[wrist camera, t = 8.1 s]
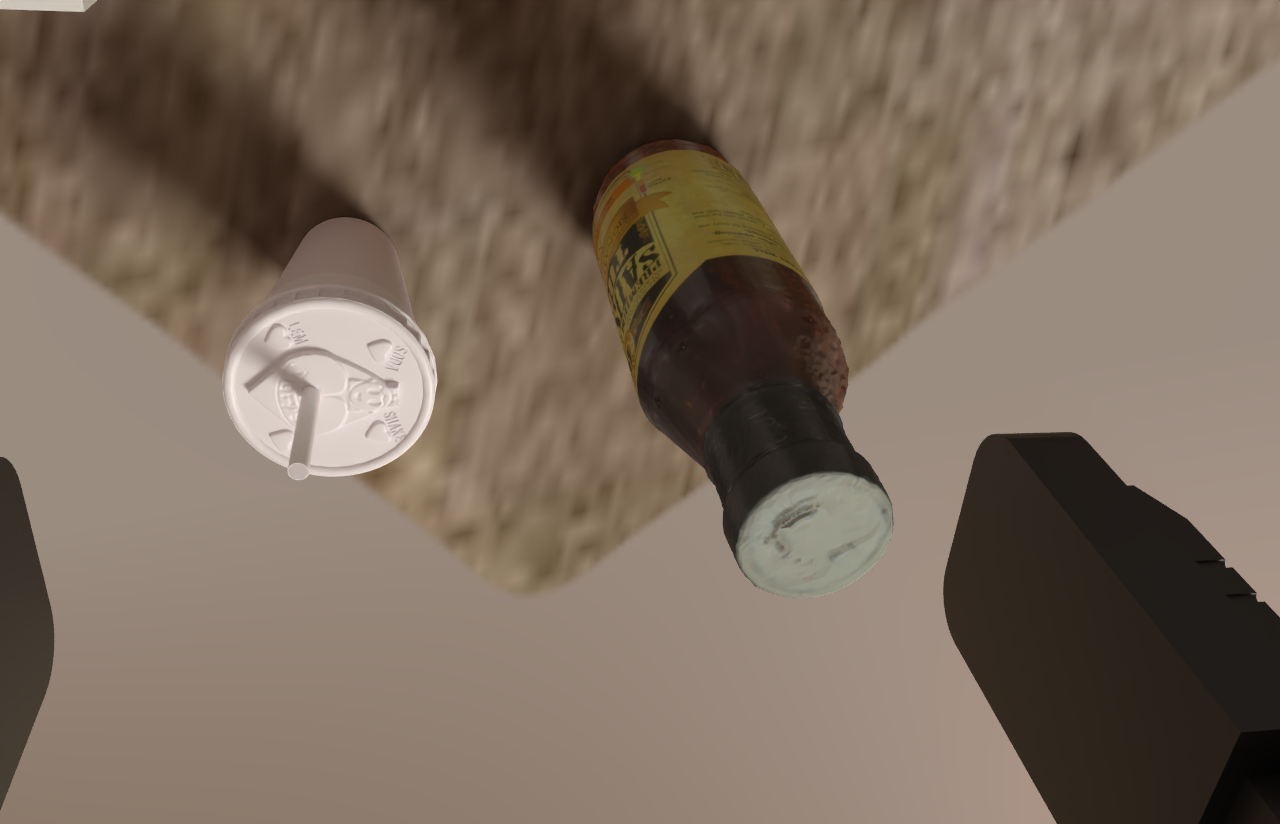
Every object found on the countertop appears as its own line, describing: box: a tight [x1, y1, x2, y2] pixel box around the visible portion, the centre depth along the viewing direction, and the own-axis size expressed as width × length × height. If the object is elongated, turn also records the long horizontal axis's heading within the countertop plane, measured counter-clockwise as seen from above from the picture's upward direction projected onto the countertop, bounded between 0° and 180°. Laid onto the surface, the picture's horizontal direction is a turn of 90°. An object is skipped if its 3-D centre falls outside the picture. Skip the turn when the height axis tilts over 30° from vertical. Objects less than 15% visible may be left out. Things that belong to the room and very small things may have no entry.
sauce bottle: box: [592, 139, 893, 598], centre depth 36 cm, size 7×6×20 cm
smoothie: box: [222, 217, 437, 480], centre depth 37 cm, size 6×6×14 cm
